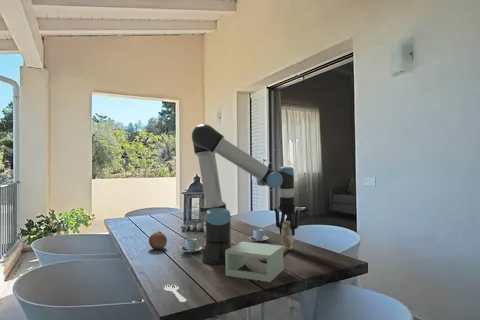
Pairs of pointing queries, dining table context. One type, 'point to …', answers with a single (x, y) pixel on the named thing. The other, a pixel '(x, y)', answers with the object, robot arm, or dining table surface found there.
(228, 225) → the robot arm
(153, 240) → the onion
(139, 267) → the dining table surface
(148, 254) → the dining table surface
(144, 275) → the dining table surface
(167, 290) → the white fork
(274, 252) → the cubby
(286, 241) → the tan tall part
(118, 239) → the dining table surface
